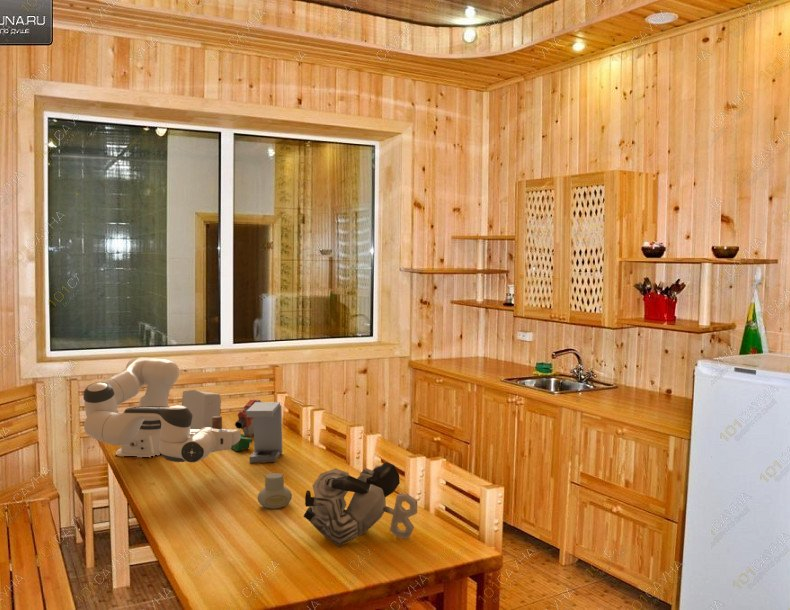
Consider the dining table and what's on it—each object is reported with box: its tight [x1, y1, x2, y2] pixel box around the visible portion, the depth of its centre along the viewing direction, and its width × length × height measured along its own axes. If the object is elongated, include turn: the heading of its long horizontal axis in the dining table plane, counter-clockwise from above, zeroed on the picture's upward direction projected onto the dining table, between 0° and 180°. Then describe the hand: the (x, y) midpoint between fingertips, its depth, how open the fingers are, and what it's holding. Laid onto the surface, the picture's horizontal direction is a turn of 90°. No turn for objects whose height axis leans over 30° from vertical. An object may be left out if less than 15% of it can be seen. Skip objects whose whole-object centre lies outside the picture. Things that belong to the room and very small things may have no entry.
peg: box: [212, 415, 223, 430], centre depth 273 cm, size 4×4×12 cm
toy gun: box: [234, 398, 262, 438], centre depth 330 cm, size 4×20×15 cm, turn 163°
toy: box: [303, 461, 418, 547], centre depth 213 cm, size 21×31×30 cm
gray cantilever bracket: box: [246, 401, 284, 455], centre depth 290 cm, size 11×16×21 cm
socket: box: [249, 450, 281, 464], centre depth 291 cm, size 10×10×2 cm
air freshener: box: [256, 472, 293, 510], centre depth 237 cm, size 11×8×10 cm
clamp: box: [231, 433, 253, 452], centre depth 308 cm, size 12×6×9 cm, turn 28°
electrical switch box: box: [181, 389, 222, 429], centre depth 340 cm, size 15×15×20 cm
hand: (218, 430), depth 274 cm, fingers closed on peg, 4 cm apart
